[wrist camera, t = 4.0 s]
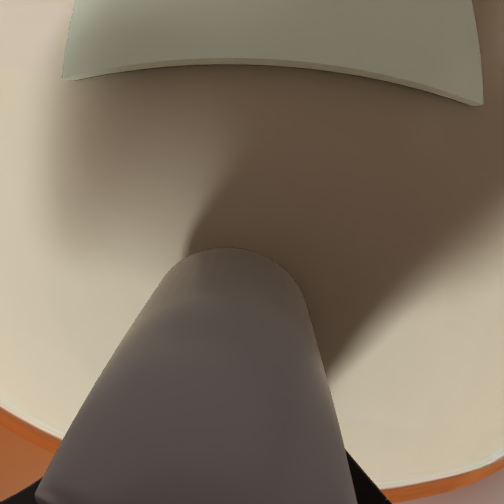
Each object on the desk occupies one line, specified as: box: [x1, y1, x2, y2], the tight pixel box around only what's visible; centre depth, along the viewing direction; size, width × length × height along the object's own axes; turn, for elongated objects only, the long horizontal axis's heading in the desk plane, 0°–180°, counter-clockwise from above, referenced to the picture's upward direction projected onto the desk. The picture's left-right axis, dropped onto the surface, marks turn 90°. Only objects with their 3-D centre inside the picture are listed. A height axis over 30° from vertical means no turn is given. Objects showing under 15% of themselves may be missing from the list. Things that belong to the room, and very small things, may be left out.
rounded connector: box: [35, 248, 357, 504], centre depth 6 cm, size 4×11×6 cm, turn 177°
